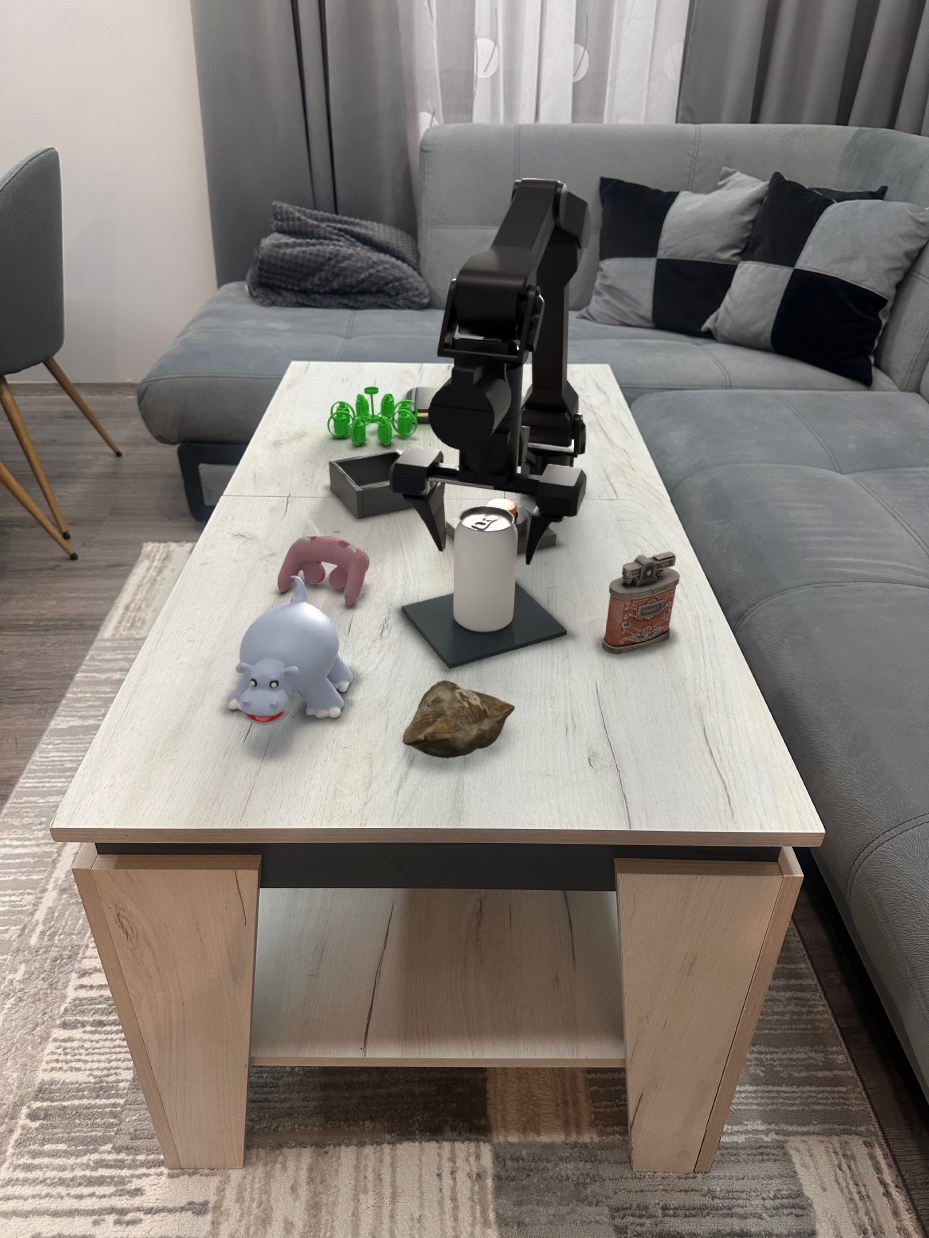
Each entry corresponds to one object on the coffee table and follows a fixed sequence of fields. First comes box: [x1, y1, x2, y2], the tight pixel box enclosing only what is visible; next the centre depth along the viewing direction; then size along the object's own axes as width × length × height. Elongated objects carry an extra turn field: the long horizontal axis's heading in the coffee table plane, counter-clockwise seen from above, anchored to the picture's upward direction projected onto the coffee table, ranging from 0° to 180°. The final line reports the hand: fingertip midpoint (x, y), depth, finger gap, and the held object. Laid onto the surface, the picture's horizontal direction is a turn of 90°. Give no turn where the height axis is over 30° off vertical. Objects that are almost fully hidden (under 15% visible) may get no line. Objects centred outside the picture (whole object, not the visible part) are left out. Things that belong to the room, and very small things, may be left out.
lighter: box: [601, 550, 681, 656], centre depth 90 cm, size 8×3×10 cm, turn 118°
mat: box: [401, 581, 568, 670], centre depth 95 cm, size 14×12×1 cm
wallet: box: [405, 386, 442, 425], centre depth 150 cm, size 20×2×15 cm
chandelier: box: [326, 386, 418, 446], centre depth 139 cm, size 15×15×7 cm
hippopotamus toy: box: [227, 575, 354, 726], centre depth 81 cm, size 11×15×10 cm
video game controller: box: [277, 535, 370, 606], centre depth 99 cm, size 10×5×7 cm, turn 71°
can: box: [453, 505, 518, 633], centre depth 92 cm, size 6×6×12 cm
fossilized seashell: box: [402, 679, 516, 759], centre depth 78 cm, size 8×7×10 cm
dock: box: [328, 449, 415, 520], centre depth 120 cm, size 11×11×4 cm
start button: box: [486, 498, 517, 520], centre depth 109 cm, size 4×4×2 cm
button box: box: [445, 504, 558, 556], centre depth 110 cm, size 11×9×4 cm
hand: (484, 556), depth 91 cm, fingers open, 9 cm apart
